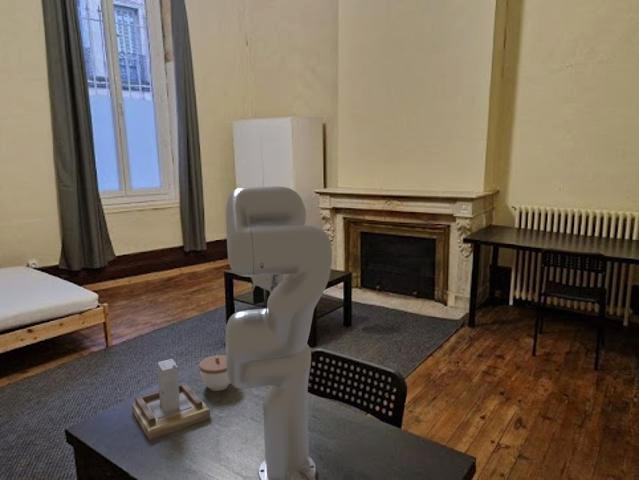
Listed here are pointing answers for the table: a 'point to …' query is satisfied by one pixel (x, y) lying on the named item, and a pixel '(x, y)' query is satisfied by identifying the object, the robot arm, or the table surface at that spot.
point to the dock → (169, 412)
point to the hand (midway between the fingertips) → (267, 307)
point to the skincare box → (168, 385)
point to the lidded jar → (214, 372)
